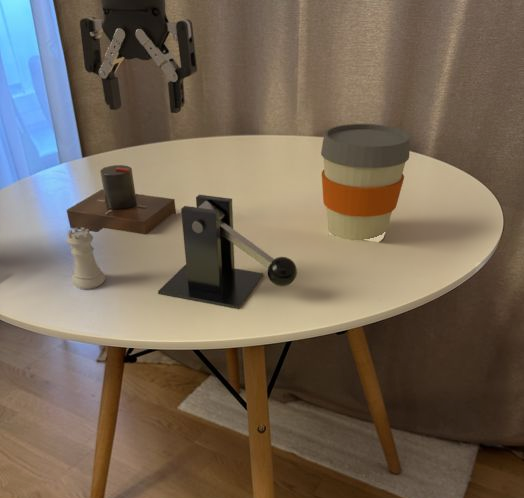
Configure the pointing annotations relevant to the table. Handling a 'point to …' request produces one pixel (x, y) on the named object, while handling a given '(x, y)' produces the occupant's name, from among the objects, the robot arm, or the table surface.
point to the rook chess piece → (84, 260)
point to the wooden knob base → (120, 214)
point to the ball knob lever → (258, 253)
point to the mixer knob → (118, 187)
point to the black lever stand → (210, 259)
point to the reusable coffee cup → (362, 177)
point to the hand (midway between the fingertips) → (145, 110)
